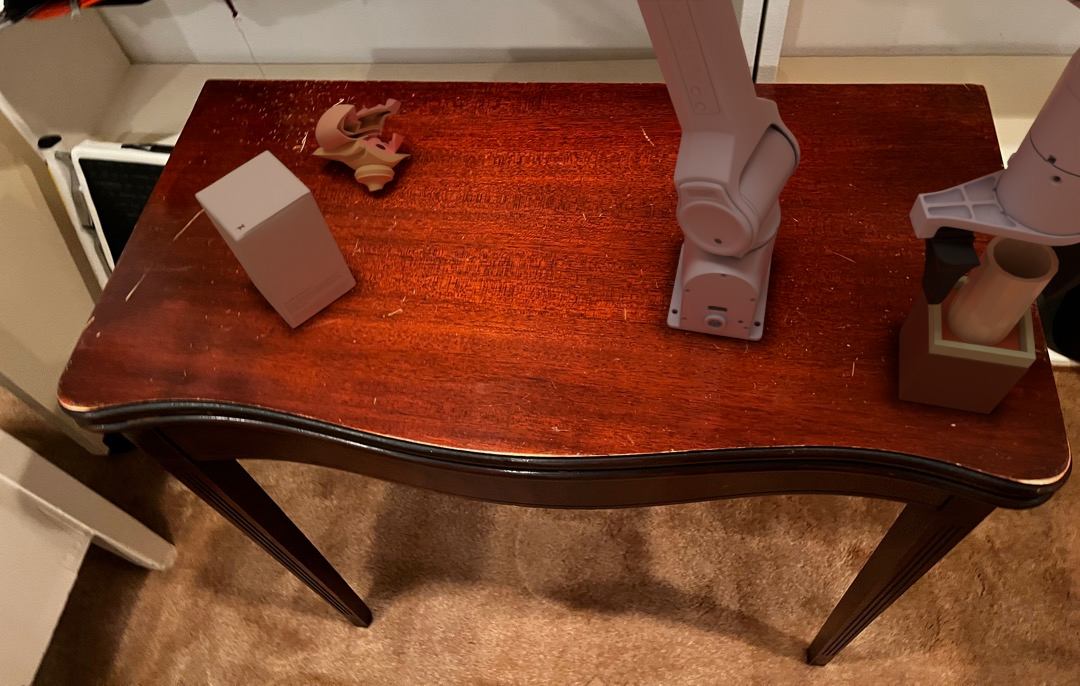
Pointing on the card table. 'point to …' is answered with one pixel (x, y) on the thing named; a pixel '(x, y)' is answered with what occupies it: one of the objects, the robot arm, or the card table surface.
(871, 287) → the card table surface
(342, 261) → the white packaging box
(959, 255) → the robot arm
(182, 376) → the card table surface
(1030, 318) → the holder
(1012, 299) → the beige hollow cylinder
